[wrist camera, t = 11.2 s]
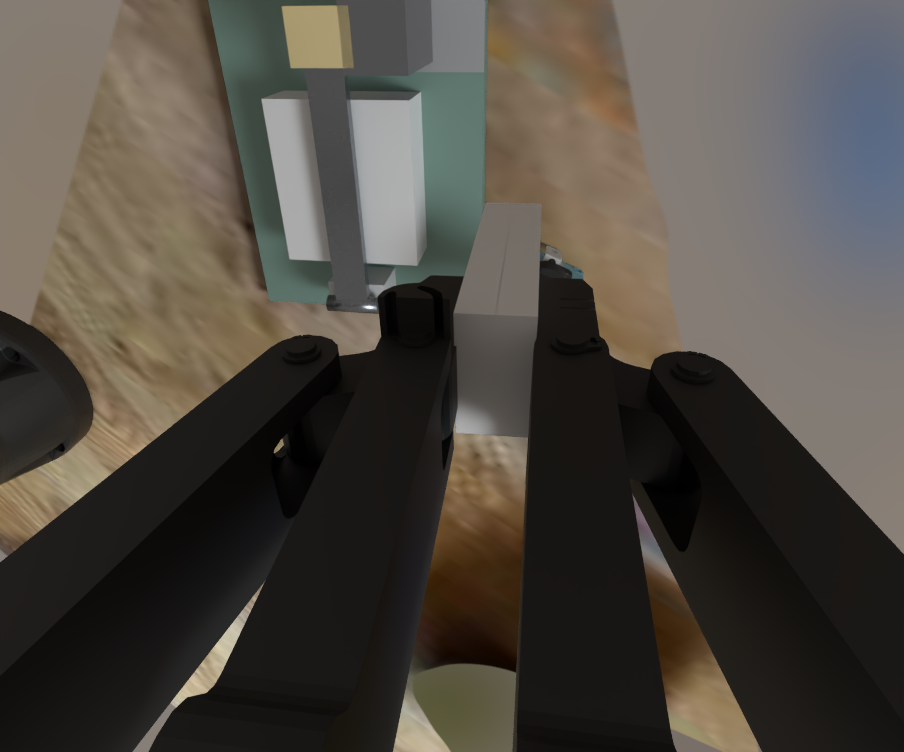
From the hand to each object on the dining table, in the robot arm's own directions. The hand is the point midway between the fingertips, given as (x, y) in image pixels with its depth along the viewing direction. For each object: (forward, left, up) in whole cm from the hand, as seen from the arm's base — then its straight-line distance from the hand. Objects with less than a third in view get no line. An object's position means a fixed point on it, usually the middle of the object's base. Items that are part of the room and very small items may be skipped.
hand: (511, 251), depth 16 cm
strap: (-10, -3, -16) cm, 20 cm away
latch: (-8, +4, -19) cm, 21 cm away
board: (-10, -3, -21) cm, 23 cm away
